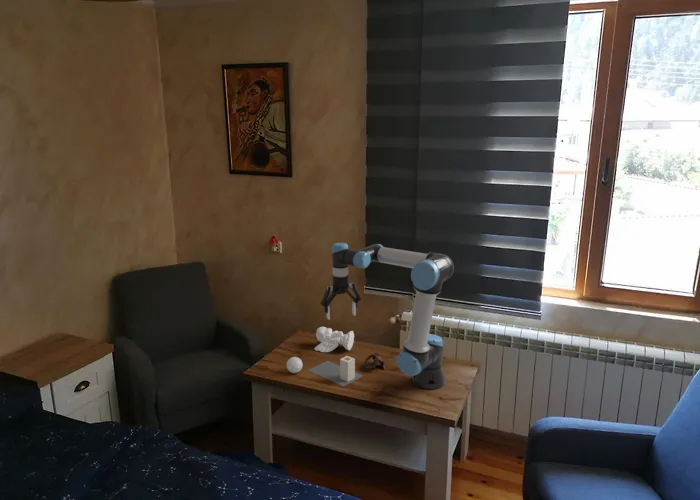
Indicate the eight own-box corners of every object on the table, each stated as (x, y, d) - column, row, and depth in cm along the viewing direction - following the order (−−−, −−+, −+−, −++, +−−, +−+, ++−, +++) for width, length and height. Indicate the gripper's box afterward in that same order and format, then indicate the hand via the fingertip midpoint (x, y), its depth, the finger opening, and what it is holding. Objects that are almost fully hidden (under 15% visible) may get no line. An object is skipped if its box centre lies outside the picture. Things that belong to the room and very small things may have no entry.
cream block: (354, 378, 259) (354, 358, 256) (347, 381, 255) (347, 362, 253) (347, 374, 262) (347, 355, 259) (340, 378, 258) (340, 359, 256)
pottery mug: (386, 373, 265) (379, 362, 262) (369, 379, 268) (361, 368, 264) (386, 357, 275) (379, 345, 272) (370, 363, 278) (362, 352, 275)
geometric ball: (299, 376, 266) (307, 367, 263) (285, 375, 262) (293, 365, 258) (295, 364, 271) (303, 354, 268) (281, 362, 267) (289, 352, 263)
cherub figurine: (348, 338, 279) (311, 329, 285) (345, 359, 283) (310, 350, 288) (355, 327, 291) (320, 319, 296) (353, 348, 295) (319, 340, 300)
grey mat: (363, 376, 261) (363, 375, 261) (343, 387, 251) (343, 386, 251) (327, 361, 277) (327, 360, 277) (307, 370, 267) (307, 370, 266)
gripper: (361, 269, 268) (361, 310, 273) (313, 276, 259) (314, 317, 264) (367, 273, 261) (367, 315, 266) (318, 280, 252) (319, 323, 257)
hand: (341, 316), depth 265 cm, fingers open, 13 cm apart
